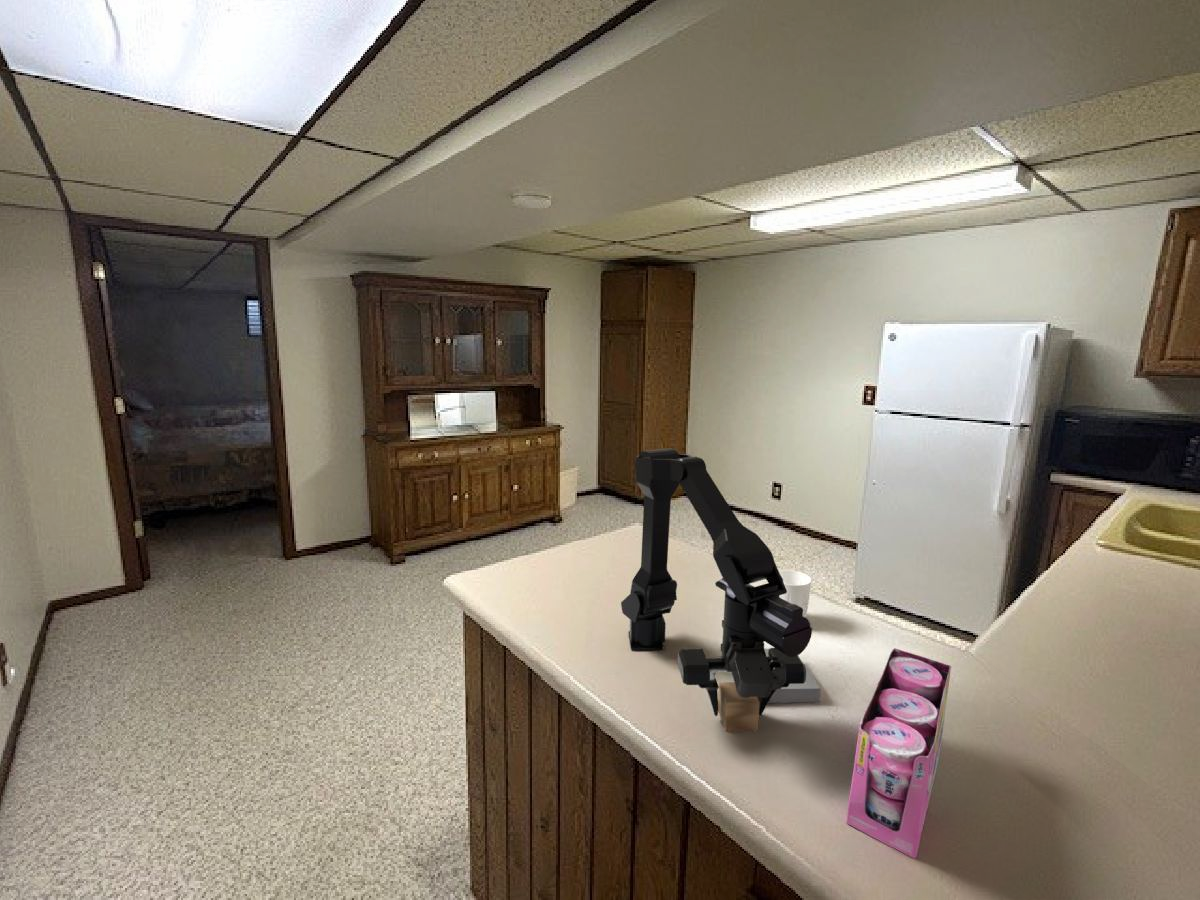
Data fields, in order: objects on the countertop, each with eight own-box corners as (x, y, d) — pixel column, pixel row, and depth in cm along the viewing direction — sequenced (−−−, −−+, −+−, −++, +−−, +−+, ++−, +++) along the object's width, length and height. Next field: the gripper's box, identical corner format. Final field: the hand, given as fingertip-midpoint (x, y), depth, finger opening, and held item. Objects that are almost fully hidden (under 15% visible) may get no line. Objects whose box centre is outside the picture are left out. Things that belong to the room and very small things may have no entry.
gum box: (915, 871, 60) (930, 766, 57) (841, 832, 65) (851, 734, 62) (941, 748, 78) (953, 665, 76) (882, 725, 83) (891, 646, 81)
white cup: (810, 631, 110) (814, 586, 109) (771, 627, 112) (774, 583, 110) (804, 613, 118) (807, 571, 116) (767, 609, 120) (770, 568, 118)
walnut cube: (725, 731, 82) (726, 702, 81) (717, 710, 86) (718, 682, 86) (757, 731, 82) (759, 702, 81) (747, 709, 87) (749, 682, 86)
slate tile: (748, 702, 88) (749, 689, 88) (729, 661, 100) (729, 648, 99) (819, 701, 88) (820, 688, 88) (792, 660, 100) (793, 648, 100)
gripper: (692, 653, 73) (688, 753, 76) (826, 652, 73) (817, 750, 76) (678, 613, 84) (675, 702, 87) (795, 612, 84) (788, 700, 87)
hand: (737, 713), depth 84 cm, fingers open, 7 cm apart
